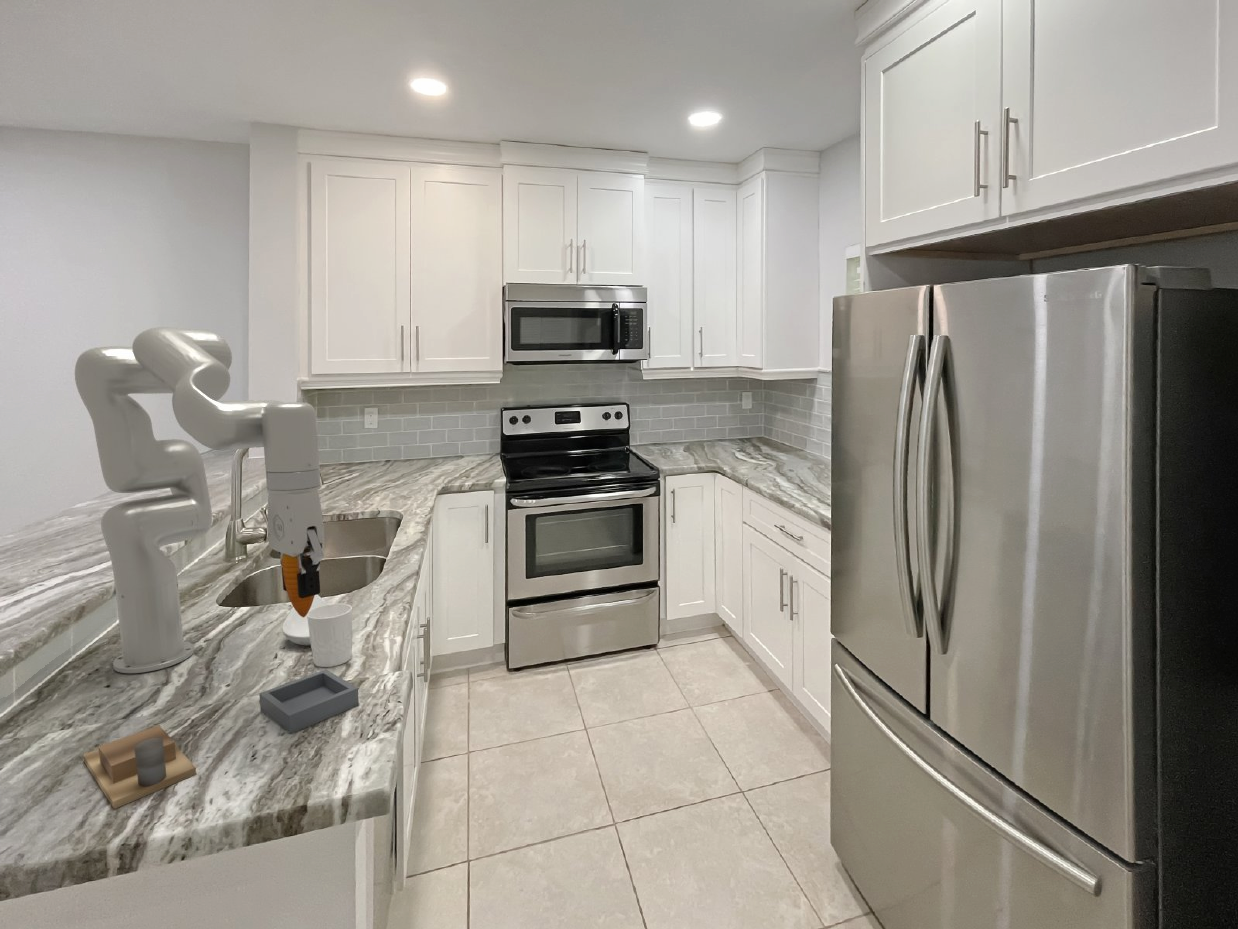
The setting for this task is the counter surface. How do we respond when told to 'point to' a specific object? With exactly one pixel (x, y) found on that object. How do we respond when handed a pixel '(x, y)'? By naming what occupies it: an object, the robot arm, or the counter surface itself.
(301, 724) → the tray
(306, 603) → the carrot
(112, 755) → the wooden rectangular block
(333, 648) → the white cup
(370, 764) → the counter surface
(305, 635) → the spoon rest
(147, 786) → the board
